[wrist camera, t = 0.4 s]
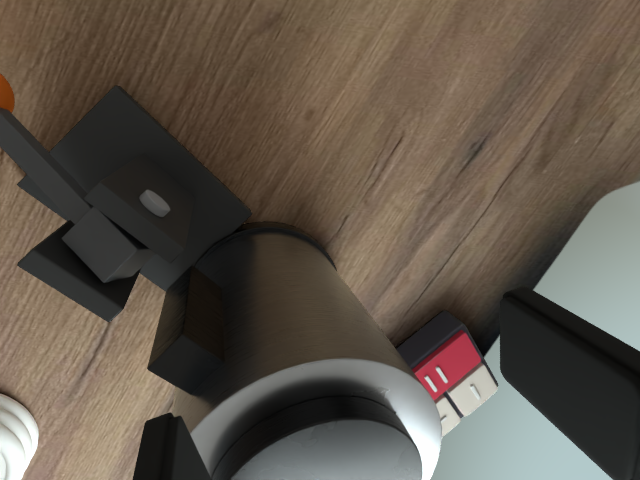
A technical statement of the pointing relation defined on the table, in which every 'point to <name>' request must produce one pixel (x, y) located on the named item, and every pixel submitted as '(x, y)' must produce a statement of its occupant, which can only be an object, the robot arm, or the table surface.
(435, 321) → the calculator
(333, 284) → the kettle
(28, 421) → the white jar lid
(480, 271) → the table surface
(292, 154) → the table surface
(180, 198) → the switch base
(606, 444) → the robot arm
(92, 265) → the switch lever
